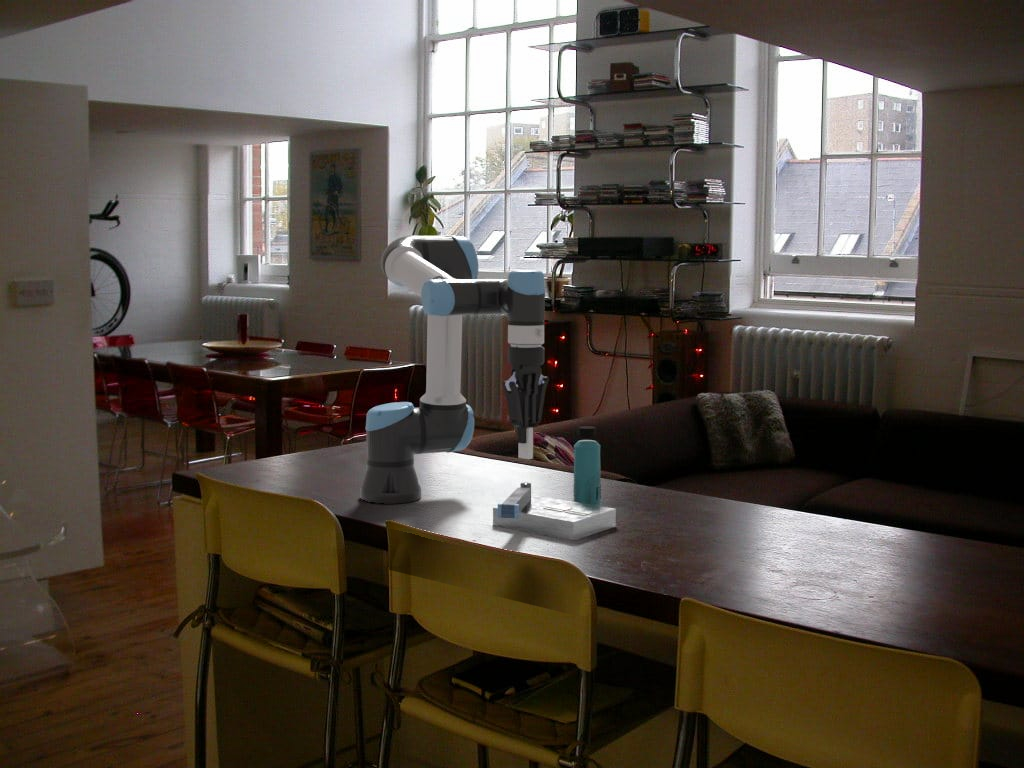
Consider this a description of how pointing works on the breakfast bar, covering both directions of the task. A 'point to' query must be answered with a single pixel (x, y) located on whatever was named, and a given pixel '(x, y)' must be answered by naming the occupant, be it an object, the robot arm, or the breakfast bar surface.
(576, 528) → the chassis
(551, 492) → the breakfast bar surface
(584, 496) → the beverage bottle
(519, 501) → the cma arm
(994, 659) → the breakfast bar surface
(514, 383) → the robot arm
